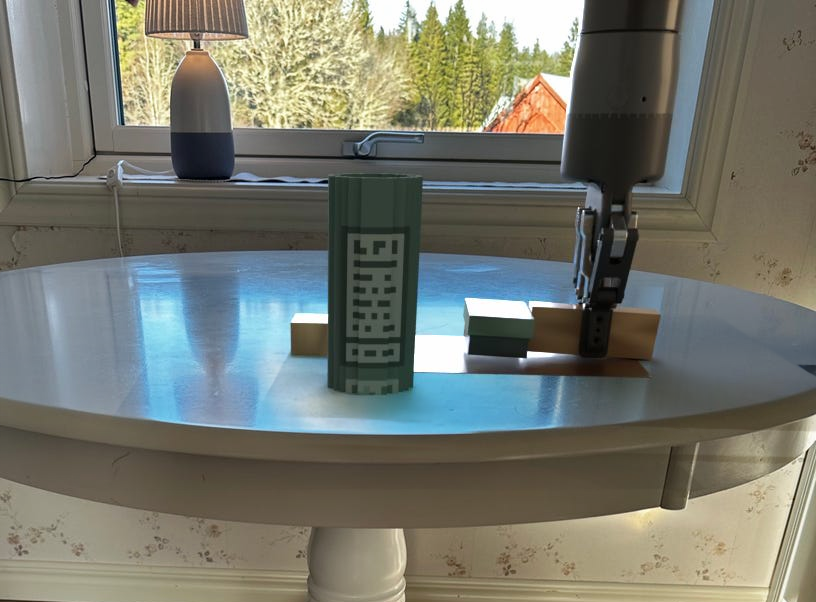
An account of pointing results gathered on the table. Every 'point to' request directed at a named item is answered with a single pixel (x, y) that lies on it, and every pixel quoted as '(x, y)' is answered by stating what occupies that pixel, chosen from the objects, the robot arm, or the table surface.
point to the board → (515, 362)
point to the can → (373, 281)
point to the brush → (551, 329)
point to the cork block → (309, 335)
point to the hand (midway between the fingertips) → (589, 351)
